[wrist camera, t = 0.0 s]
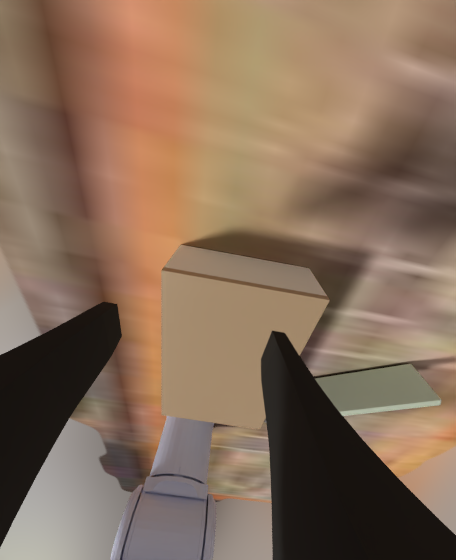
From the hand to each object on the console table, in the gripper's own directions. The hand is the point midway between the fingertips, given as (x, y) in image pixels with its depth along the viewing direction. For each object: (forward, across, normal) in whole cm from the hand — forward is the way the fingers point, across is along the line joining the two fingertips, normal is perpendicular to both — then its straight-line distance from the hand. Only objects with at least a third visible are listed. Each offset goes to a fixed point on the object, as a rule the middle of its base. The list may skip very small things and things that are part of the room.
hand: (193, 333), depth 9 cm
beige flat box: (+10, -3, +10) cm, 14 cm away
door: (+10, -17, +15) cm, 25 cm away
